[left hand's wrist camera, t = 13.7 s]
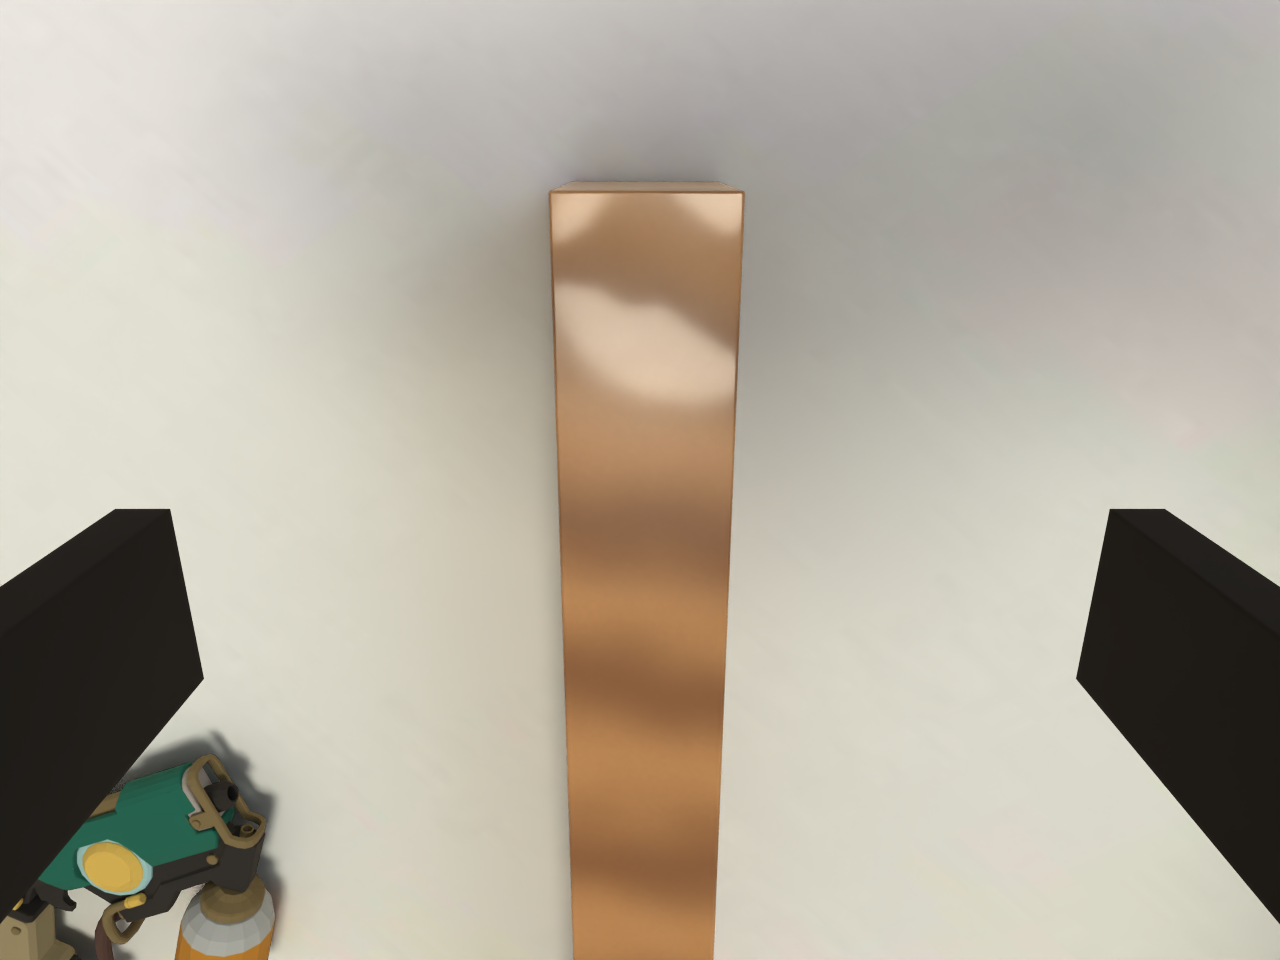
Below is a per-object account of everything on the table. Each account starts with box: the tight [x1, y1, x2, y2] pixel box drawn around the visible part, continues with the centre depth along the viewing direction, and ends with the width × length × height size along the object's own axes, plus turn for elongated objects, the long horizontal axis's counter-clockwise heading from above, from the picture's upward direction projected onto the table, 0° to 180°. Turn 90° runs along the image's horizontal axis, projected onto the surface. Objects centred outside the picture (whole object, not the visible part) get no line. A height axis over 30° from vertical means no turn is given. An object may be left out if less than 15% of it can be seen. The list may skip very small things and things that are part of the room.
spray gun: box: [0, 754, 275, 960], centre depth 42 cm, size 4×17×15 cm
